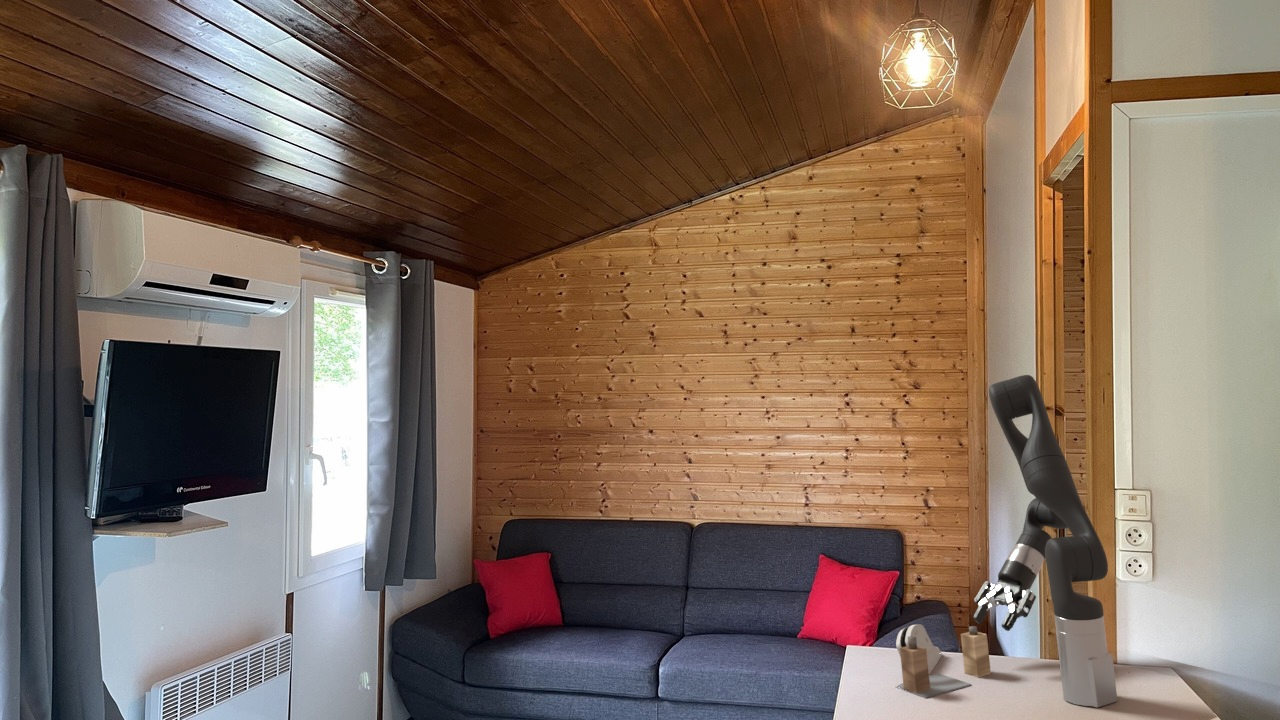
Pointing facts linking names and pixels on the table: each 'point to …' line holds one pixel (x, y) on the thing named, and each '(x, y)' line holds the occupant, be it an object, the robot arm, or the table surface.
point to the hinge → (919, 643)
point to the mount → (923, 673)
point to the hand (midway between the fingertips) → (990, 625)
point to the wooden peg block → (975, 653)
